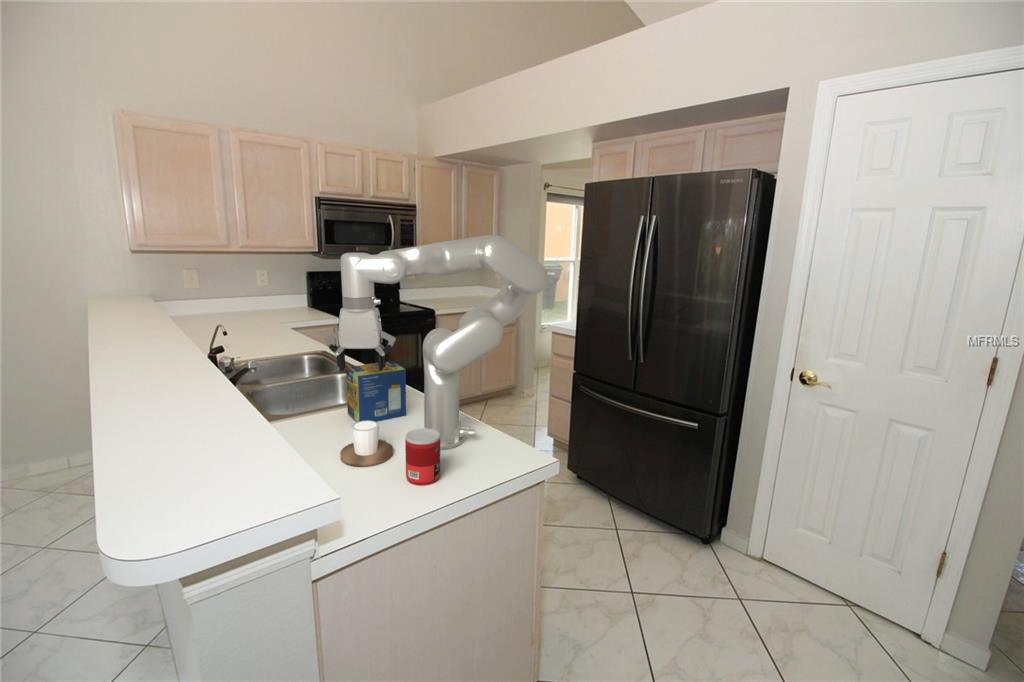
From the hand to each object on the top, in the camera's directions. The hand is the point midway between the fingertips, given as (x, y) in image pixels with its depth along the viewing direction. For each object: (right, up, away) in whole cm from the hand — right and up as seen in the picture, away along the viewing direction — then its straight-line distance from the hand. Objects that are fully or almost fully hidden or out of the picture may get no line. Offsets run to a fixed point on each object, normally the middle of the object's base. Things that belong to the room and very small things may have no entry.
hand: (361, 369), depth 122 cm
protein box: (-4, -16, +27) cm, 32 cm away
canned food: (+17, -25, -9) cm, 32 cm away
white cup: (+1, -21, +1) cm, 21 cm away
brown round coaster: (+1, -22, +1) cm, 22 cm away
